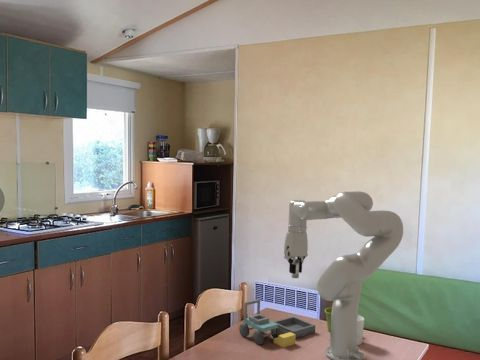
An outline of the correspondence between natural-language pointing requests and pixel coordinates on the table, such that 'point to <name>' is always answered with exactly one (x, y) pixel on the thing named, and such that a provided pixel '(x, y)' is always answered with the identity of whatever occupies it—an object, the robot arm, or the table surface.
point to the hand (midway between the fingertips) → (295, 272)
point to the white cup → (359, 329)
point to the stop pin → (296, 269)
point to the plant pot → (328, 318)
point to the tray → (295, 326)
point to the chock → (285, 339)
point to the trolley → (258, 324)
